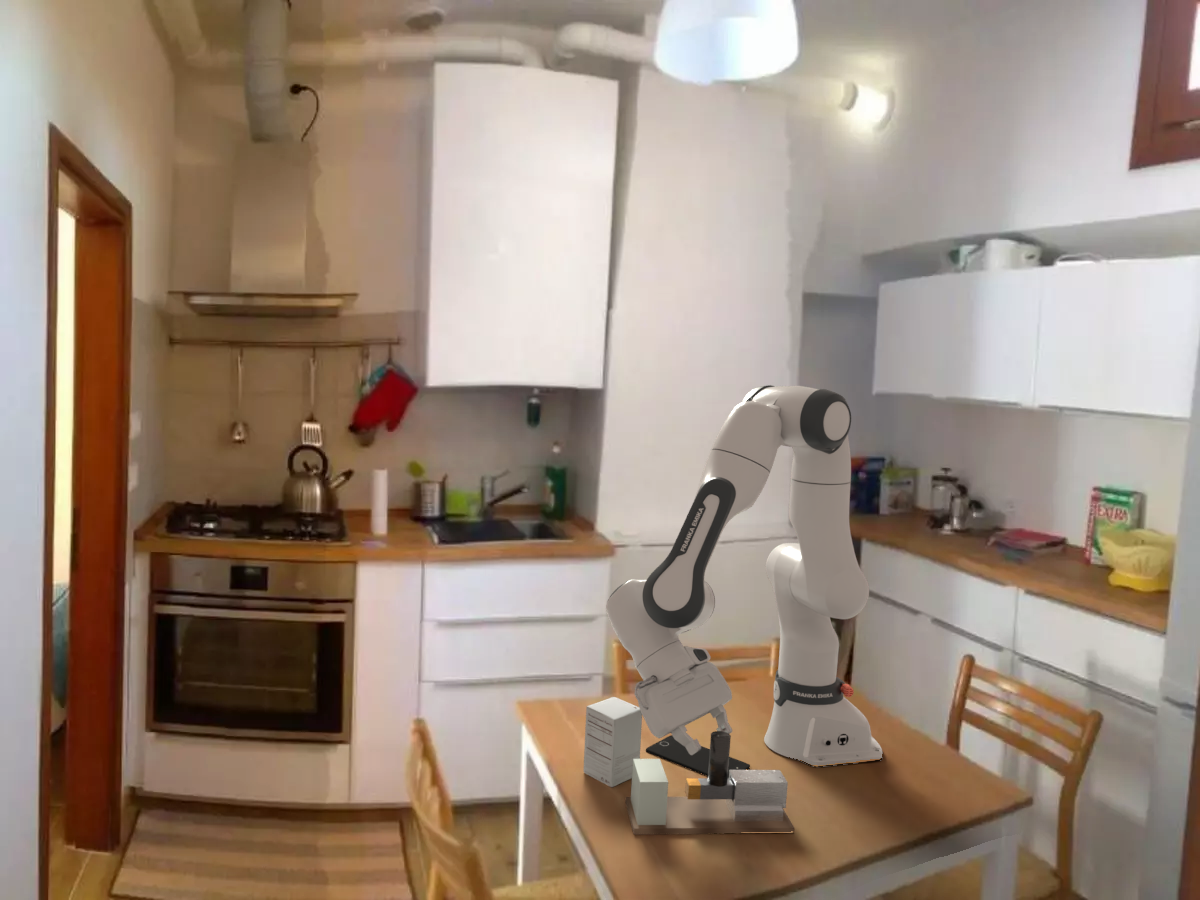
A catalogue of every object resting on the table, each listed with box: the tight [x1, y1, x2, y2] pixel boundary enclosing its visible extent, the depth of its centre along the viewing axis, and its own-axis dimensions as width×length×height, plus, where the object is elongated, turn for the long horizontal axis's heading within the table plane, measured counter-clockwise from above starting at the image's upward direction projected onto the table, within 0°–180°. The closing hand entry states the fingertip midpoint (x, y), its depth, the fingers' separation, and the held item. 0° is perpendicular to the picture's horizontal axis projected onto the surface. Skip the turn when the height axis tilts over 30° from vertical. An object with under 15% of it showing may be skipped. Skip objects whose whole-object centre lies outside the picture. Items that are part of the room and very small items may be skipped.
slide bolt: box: [684, 730, 735, 799], centre depth 151 cm, size 15×3×10 cm, turn 96°
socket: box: [630, 758, 669, 825], centre depth 150 cm, size 4×8×7 cm, turn 6°
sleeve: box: [726, 769, 789, 821], centre depth 152 cm, size 9×6×6 cm
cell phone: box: [645, 734, 751, 778], centre depth 172 cm, size 9×18×1 cm, turn 51°
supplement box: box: [583, 696, 643, 788], centre depth 164 cm, size 7×7×13 cm
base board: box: [625, 796, 795, 835], centre depth 151 cm, size 26×10×1 cm, turn 96°
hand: (712, 743), depth 151 cm, fingers open, 8 cm apart
